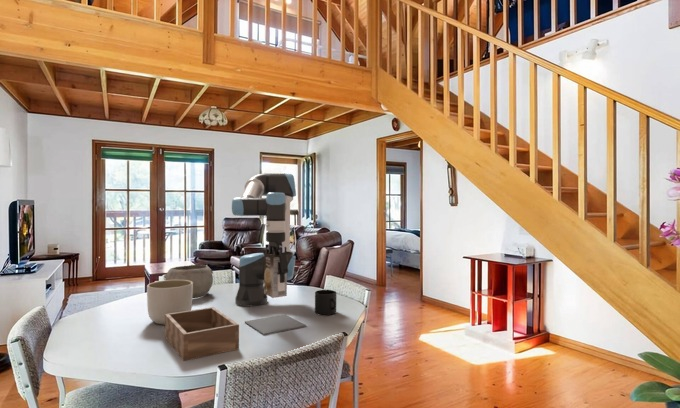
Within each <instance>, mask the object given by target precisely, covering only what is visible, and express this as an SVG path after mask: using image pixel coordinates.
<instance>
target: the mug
mask: <svg viewBox="0 0 680 408" xmlns="http://www.w3.org/2000/svg"><path fill="white" fill-rule="evenodd" d="M314 313H315V314H316V315H318V314H319V316H333V315H335V314H337V291H336V290H333V289H319V290H316V291H315V292H314Z"/></svg>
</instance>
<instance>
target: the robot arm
mask: <svg viewBox="0 0 680 408" xmlns="http://www.w3.org/2000/svg"><path fill="white" fill-rule="evenodd" d="M295 183H296V182H295V177H294V175H293V174H292V173H276V172H275V173H266V172H265V173H259V174H256V175H253V176H251V177H250V178H249V179H247V181H246V182H245V183H244V190H243V192H242V194H241V196H239V197H234V198H233V199H232V200H231V212H232V215H233V216H240V217H248V216H249V217H264V216H265V217H266V218H265V230H266V231H267V232H266V233H265V241H266V242H267V243H269V244H265V253H264V252H257V253H249V254H245V255H242V256H241V257H240V258H239V263H238V264H239V265H238V267H239V268H238V270H239V272H238V275H239V276H238V279H239V280H238V284H239V285H238V289H237V291H236V295H235V300H234V301H235V302H234V303H235V305H237V306H240V307H241V306H242V307H256V306H262V305H265V304H267V302H268V295H266V294H264V254H273V255H275V256H277V255H279V257H280V262H278V272H279V273H277V274H278V284H277V291H285V274H286V273H287V281H290V280H292V279H293V278H294V271H295V265H296V258H297V257H296V255H294V254H293V251H292V250H291V246H290V245H291V243H290V241H291V240H290V239H291V238H290V237H291V202H292V201H294V197H296V196H297V192H296V184H295ZM262 196H263V197H262ZM286 255H287V256H286Z"/></svg>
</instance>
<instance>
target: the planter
mask: <svg viewBox="0 0 680 408" xmlns="http://www.w3.org/2000/svg"><path fill="white" fill-rule="evenodd" d="M192 294H193V282H192V281H189V280H166V279H165V280H157V281H154V282H150V283H148V284H147V285H146V301H147V303H146V305H147V312H148V313H147V314H148V317H149V318H150V320H151V321H153V322H154V323H155V324H158V325H163V326H165V314H170V313H177V312H184V311H190V310H192V307H193V299H192Z"/></svg>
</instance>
